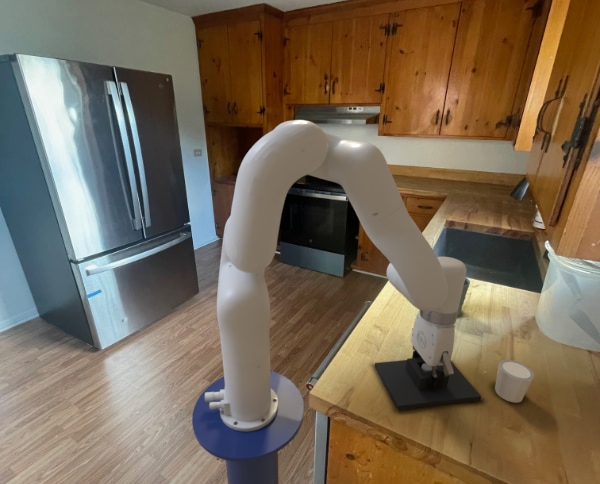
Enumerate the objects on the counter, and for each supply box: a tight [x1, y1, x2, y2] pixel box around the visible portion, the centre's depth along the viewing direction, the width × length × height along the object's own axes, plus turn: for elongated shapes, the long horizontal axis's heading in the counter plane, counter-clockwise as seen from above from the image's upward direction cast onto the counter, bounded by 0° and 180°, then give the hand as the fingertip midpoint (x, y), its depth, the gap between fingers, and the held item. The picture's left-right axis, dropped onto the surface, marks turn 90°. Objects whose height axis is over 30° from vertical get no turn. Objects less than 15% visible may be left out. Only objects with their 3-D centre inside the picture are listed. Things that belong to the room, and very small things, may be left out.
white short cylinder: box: [494, 359, 535, 404], centre depth 76 cm, size 7×7×7 cm
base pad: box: [374, 359, 482, 411], centre depth 79 cm, size 20×14×5 cm
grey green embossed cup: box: [457, 277, 471, 317], centre depth 108 cm, size 10×10×12 cm
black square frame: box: [405, 357, 449, 391], centre depth 79 cm, size 7×7×4 cm
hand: (425, 375), depth 79 cm, fingers open, 7 cm apart
